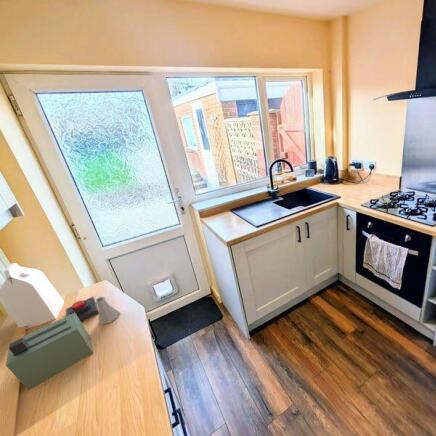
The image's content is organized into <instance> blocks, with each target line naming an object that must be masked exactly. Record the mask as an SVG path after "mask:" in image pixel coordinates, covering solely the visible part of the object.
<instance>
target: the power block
mask: <svg viewBox="0 0 436 436" xmlns="http://www.w3.org/2000/svg"><path fill="white" fill-rule="evenodd" d="M95 300H96V299H95V297H94V296H91V297H89V298H87V299H84V300H83V301H84V303H85V306H83V307H82V308H80V309H78V310H74V309H73V308H72V306H70V307H67V308H66V309H65V314H66V316H68V315H71V314H73V313H76V315H77V317H78V318H79V320H80V321H81V323H82V322H84V321H86V320H88V319H90V318H92V317H95V316H96V315H99V308H98V304H97V303H96V302H95ZM66 316H65V317H66Z"/></svg>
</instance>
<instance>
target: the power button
mask: <svg viewBox="0 0 436 436" xmlns="http://www.w3.org/2000/svg"><path fill="white" fill-rule="evenodd" d="M83 306H85V303H84V300H81V299H80V300H78V301H75V302H74V303H73V304H72V305H71V307H72V308H73V309H74V310H78V309H80V308H82V307H83Z"/></svg>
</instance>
